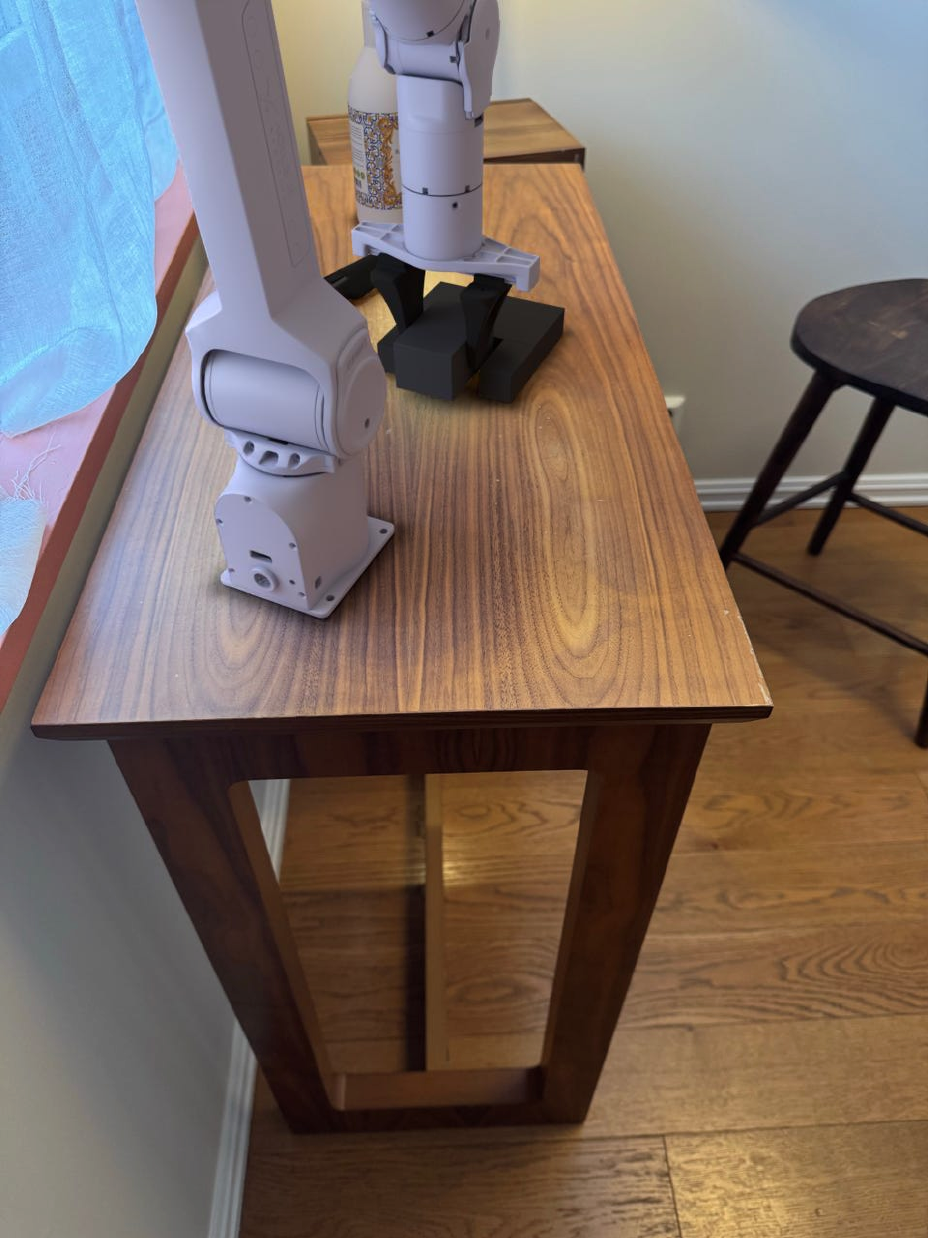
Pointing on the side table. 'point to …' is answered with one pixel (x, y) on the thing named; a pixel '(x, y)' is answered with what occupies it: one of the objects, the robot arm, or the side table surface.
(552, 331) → the base pad
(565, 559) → the side table surface
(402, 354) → the rectangular block
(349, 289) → the electric trimmer
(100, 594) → the side table surface
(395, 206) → the bath foam
